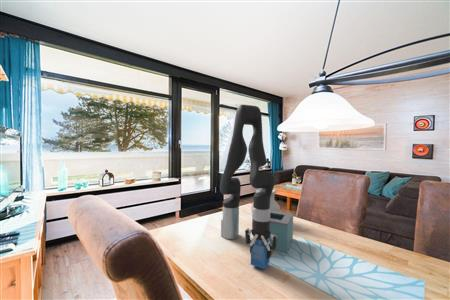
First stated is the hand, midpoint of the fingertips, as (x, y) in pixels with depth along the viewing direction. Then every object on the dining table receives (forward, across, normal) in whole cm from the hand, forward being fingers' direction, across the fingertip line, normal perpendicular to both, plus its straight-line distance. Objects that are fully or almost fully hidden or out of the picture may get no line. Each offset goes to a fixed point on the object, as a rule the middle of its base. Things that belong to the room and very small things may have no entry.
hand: (260, 255), depth 89 cm
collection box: (+4, 0, -25) cm, 25 cm away
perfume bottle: (+3, 0, 0) cm, 3 cm away
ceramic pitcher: (+5, +14, -52) cm, 54 cm away
